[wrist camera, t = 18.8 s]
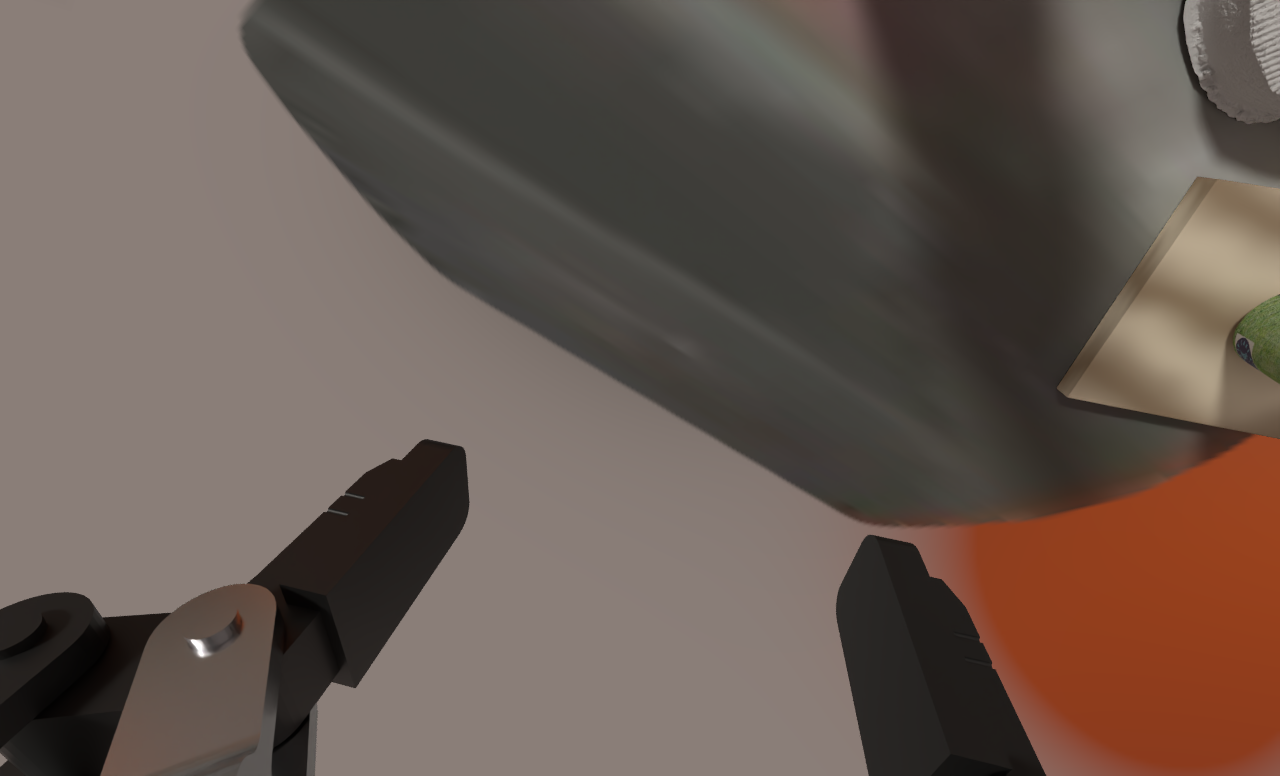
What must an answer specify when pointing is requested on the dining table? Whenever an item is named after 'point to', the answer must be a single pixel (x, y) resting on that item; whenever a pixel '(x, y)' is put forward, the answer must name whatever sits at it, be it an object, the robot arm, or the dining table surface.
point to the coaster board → (1192, 316)
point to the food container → (1237, 55)
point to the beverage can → (1261, 338)
